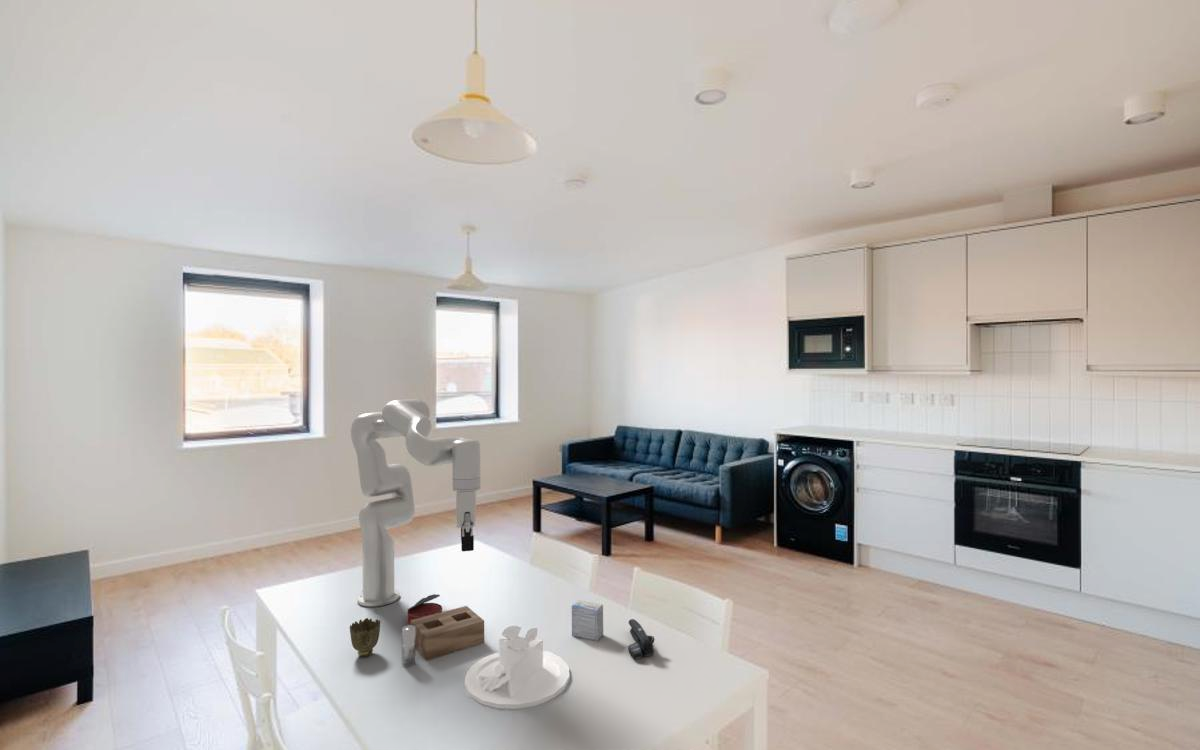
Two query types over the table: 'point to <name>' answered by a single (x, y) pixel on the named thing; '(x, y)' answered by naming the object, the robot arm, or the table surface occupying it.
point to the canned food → (424, 608)
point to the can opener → (640, 641)
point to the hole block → (448, 632)
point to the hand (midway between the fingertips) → (467, 545)
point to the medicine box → (587, 620)
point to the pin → (408, 646)
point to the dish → (517, 673)
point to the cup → (365, 636)
